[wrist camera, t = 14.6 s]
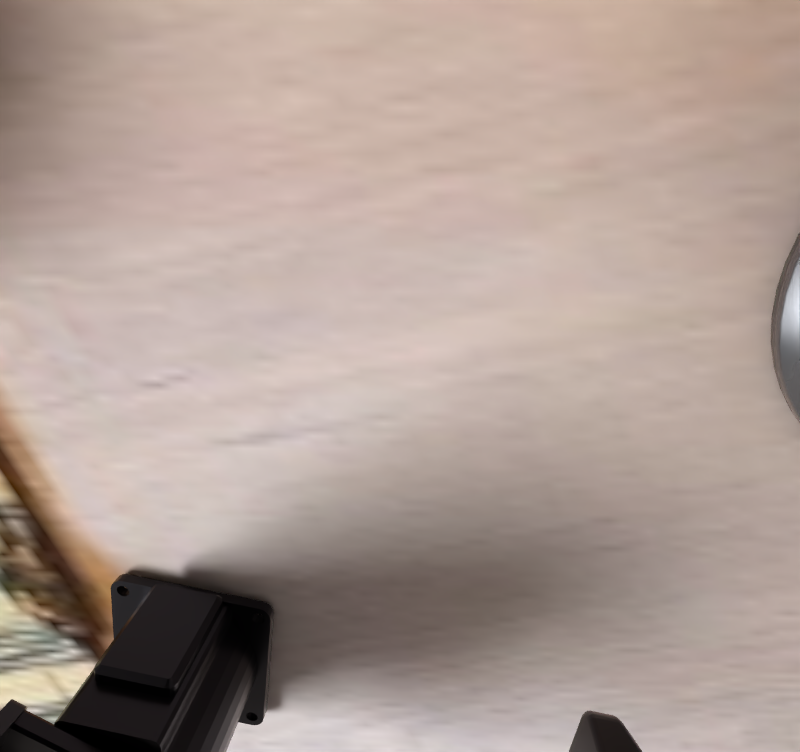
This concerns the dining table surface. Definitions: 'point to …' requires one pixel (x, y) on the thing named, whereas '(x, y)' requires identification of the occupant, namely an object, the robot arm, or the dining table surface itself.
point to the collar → (788, 330)
